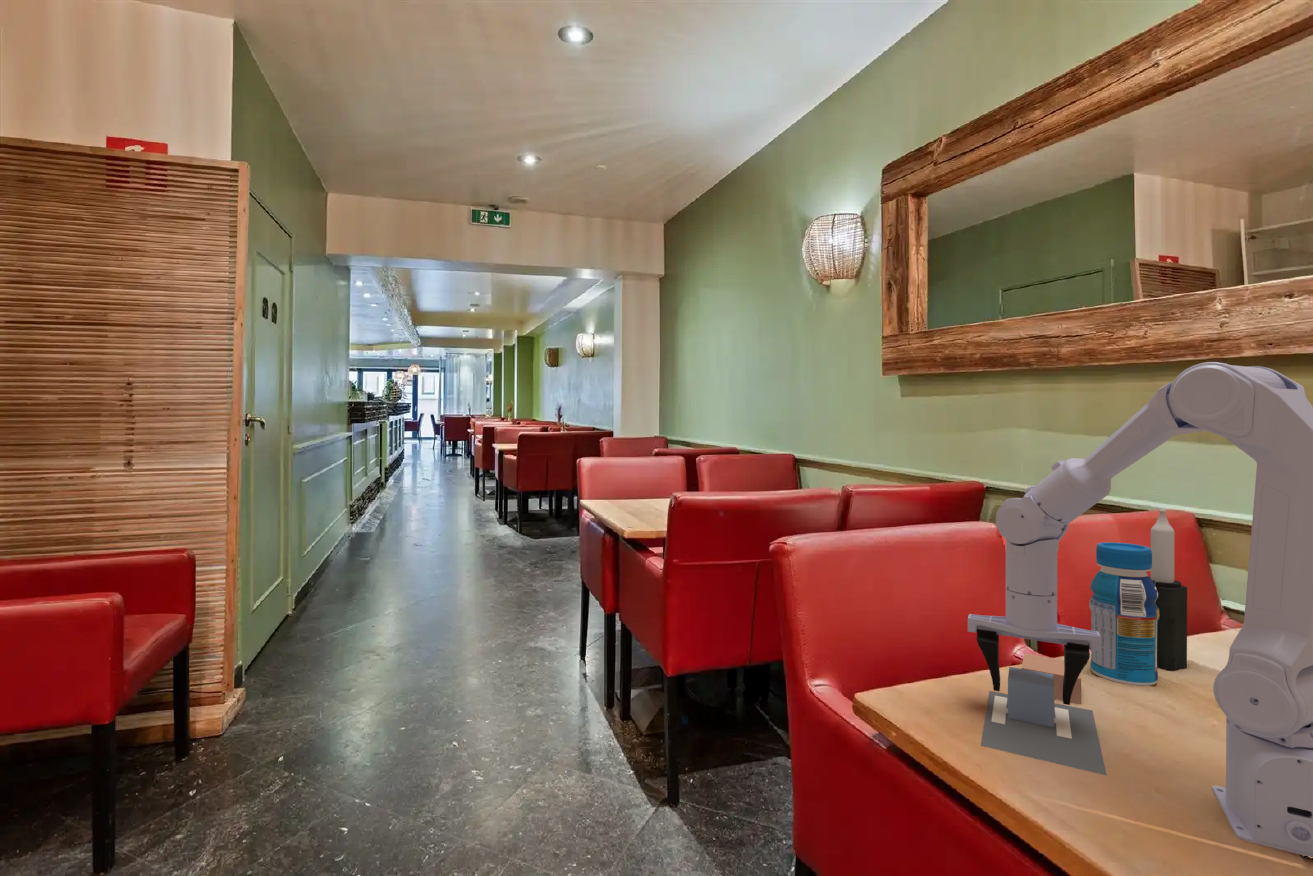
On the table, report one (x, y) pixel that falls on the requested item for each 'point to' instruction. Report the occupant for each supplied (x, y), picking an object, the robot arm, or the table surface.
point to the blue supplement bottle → (1124, 615)
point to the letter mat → (1045, 735)
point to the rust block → (1057, 670)
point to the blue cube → (1031, 696)
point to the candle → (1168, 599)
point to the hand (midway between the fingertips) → (1030, 695)
